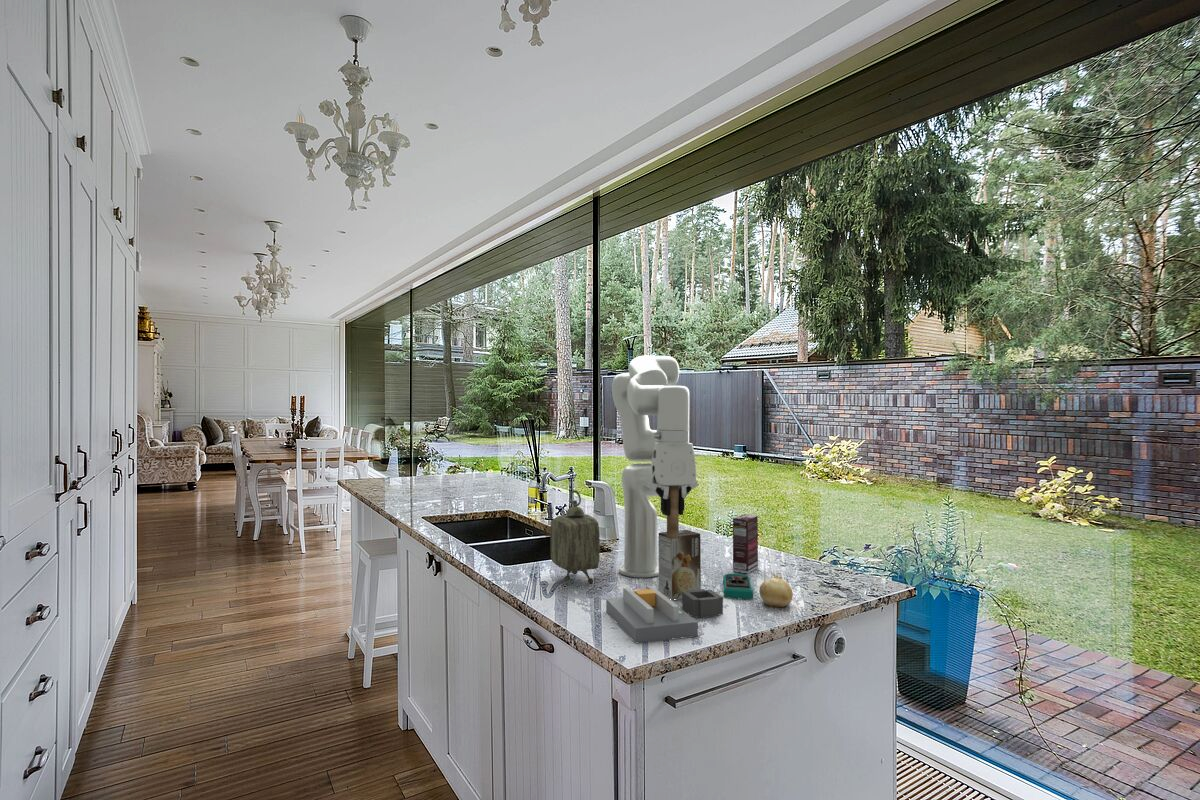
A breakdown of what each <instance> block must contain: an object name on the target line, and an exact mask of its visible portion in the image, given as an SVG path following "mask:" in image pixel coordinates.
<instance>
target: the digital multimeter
mask: <svg viewBox="0 0 1200 800" xmlns="http://www.w3.org/2000/svg"><path fill="white" fill-rule="evenodd" d="M722 582H723V598H726V597H730V598H729V599H738V598H741V600H753V599H754V590H753V586H752V584H751V582H752V581H751V577H750V576H749V575H748V574H743V573H725V574H723V576H722Z"/></svg>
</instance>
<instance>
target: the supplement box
mask: <svg viewBox="0 0 1200 800" xmlns="http://www.w3.org/2000/svg"><path fill="white" fill-rule="evenodd" d="M758 518H759V517H758V515H756V514H755V515H754V514H741V515H739V516H736V517H733V518H732V572H733V571H735V572H734V573H738V572H741V573H740V574H743V573H747V574H746V575H748V574H750V573H752V572H753V571H755V570H757V569H759V546H758V545H759V542H758V541H759V537H758V536H759V534H758V533H759V529H758V526H759V524H758V523H759V521H758ZM751 571H752V572H751Z"/></svg>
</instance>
